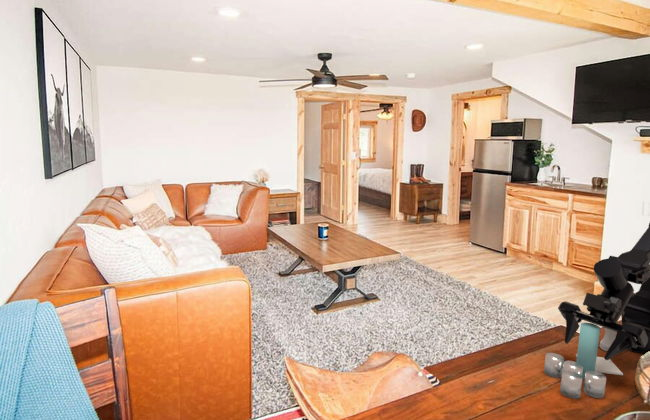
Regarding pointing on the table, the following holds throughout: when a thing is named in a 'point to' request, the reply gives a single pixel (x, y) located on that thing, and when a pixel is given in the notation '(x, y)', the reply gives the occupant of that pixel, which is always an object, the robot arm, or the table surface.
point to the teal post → (588, 346)
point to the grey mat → (606, 366)
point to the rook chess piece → (607, 339)
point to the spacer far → (571, 384)
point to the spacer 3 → (594, 384)
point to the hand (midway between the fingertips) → (584, 350)
